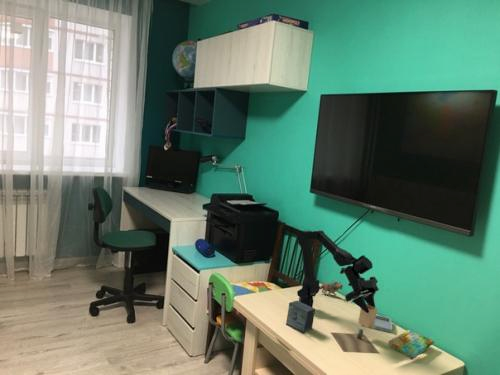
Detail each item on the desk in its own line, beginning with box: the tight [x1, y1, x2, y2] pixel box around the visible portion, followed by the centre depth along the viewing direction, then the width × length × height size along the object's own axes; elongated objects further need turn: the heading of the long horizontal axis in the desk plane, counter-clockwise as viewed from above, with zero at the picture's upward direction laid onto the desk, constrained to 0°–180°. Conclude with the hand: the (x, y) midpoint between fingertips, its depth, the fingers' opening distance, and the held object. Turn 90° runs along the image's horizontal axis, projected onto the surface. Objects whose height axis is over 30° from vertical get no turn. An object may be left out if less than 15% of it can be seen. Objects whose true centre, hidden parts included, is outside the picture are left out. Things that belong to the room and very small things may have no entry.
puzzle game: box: [387, 329, 435, 360], centre depth 179 cm, size 12×5×20 cm
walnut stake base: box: [330, 328, 381, 355], centre depth 175 cm, size 16×16×5 cm
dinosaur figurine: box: [319, 280, 343, 298], centre depth 230 cm, size 14×6×9 cm, turn 75°
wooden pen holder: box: [358, 303, 378, 330], centre depth 180 cm, size 7×5×8 cm
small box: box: [285, 300, 316, 335], centre depth 184 cm, size 11×6×10 cm, turn 47°
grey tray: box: [360, 314, 393, 334], centre depth 198 cm, size 14×14×2 cm
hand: (371, 311), depth 179 cm, fingers closed on wooden pen holder, 5 cm apart
